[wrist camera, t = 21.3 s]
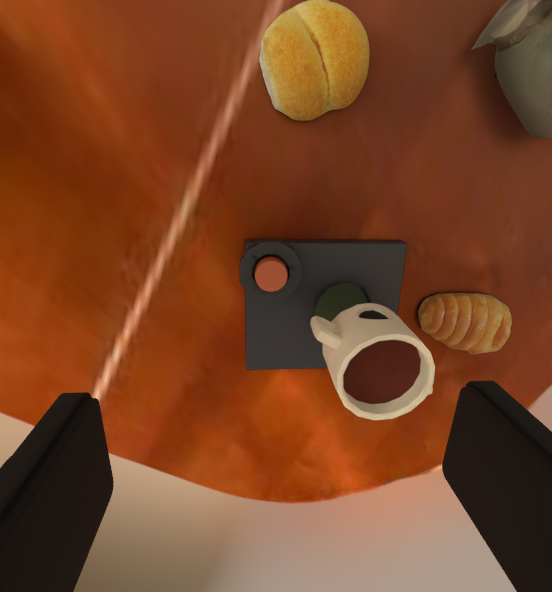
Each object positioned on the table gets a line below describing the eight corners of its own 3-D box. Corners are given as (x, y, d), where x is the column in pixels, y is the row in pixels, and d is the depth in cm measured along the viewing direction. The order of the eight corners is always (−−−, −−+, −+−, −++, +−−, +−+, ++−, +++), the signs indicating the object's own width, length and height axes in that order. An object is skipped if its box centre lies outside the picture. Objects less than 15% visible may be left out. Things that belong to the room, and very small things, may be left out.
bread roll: (373, 96, 32) (389, 87, 28) (280, 132, 33) (283, 128, 29) (349, -12, 29) (363, -38, 25) (247, 30, 30) (246, 10, 26)
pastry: (405, 334, 40) (419, 350, 37) (426, 278, 38) (444, 289, 35) (478, 349, 42) (499, 366, 38) (503, 296, 40) (528, 309, 36)
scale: (242, 361, 40) (241, 378, 37) (240, 234, 36) (238, 241, 32) (384, 358, 41) (395, 375, 38) (400, 235, 36) (415, 242, 33)
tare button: (255, 286, 34) (255, 292, 33) (254, 256, 33) (254, 260, 32) (286, 286, 34) (287, 292, 33) (286, 256, 33) (288, 260, 32)
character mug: (404, 304, 37) (477, 372, 25) (365, 357, 39) (416, 444, 27) (317, 254, 35) (350, 302, 22) (280, 313, 37) (293, 386, 24)
